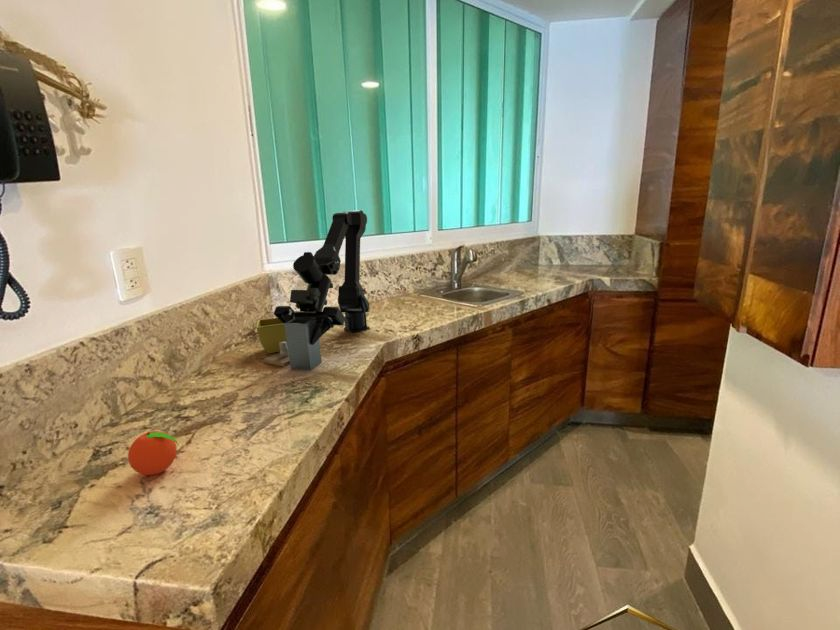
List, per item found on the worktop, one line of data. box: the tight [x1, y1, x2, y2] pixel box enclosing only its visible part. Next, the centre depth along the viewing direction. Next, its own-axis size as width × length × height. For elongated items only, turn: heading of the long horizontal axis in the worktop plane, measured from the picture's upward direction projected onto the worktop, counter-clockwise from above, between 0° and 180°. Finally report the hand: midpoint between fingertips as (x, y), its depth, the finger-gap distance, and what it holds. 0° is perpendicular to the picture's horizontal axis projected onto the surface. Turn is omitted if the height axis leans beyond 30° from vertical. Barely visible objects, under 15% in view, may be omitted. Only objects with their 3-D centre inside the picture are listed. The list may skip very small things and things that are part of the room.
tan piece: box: [263, 342, 290, 368], centre depth 124 cm, size 8×8×5 cm
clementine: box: [127, 430, 179, 476], centre depth 74 cm, size 8×7×7 cm
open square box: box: [284, 317, 323, 371], centre depth 118 cm, size 6×6×12 cm
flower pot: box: [255, 317, 287, 354], centre depth 132 cm, size 9×9×9 cm
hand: (300, 343), depth 116 cm, fingers closed on open square box, 6 cm apart
